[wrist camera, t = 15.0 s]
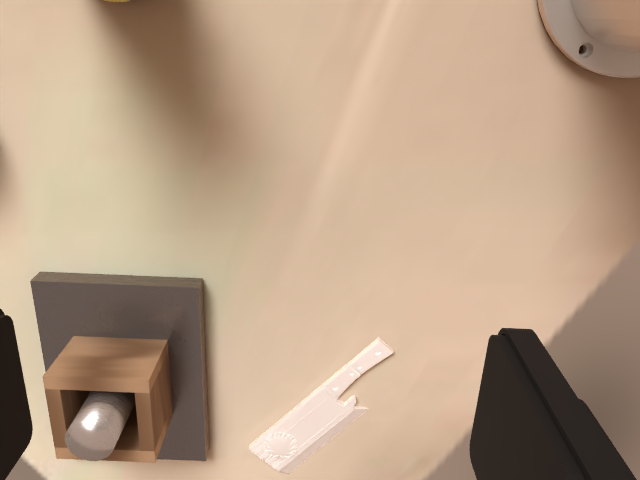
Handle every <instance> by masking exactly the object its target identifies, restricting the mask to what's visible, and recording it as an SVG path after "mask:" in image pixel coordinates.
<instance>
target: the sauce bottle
mask: <svg viewBox="0 0 640 480" xmlns="http://www.w3.org/2000/svg"><path fill="white" fill-rule="evenodd" d="M104 1H110V2H126V1H130V0H104Z"/></svg>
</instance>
